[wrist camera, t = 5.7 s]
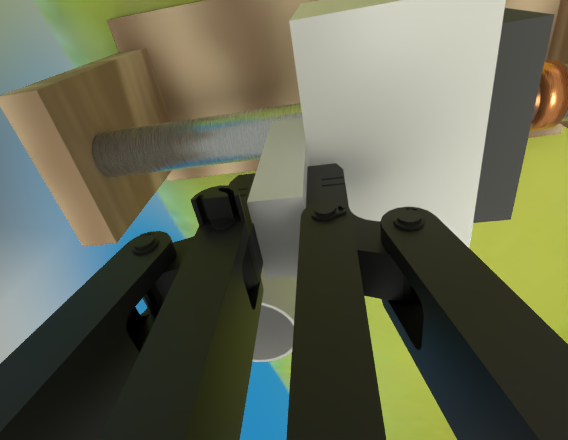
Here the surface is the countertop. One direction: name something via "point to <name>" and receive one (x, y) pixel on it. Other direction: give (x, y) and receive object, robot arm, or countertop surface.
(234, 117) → the pipe
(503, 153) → the dark grey square plate
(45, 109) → the stand
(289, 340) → the cup
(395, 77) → the sleeve
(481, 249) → the countertop surface
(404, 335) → the robot arm
